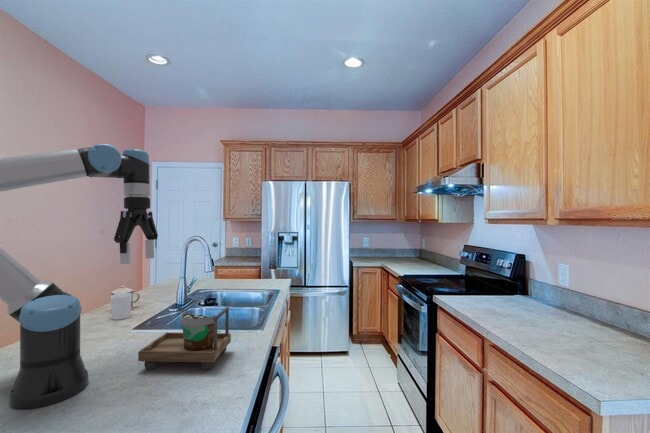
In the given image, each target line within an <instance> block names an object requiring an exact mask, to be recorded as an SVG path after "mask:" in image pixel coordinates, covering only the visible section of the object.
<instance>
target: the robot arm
mask: <svg viewBox="0 0 650 433" xmlns="http://www.w3.org/2000/svg"><path fill="white" fill-rule="evenodd" d="M150 166H151V164H150V157H149V153H148V152H147V151H145V150H143V149H138V148H127V149H123V151H122V154H121V152H120V151H119V150H118V149H117V147H115V146H113V145H111V144H108V143H99V144H95V145H93V146H91V147H83V148H77V149H76V148H75V149H74V148H73V149H67V150H61V151H60V150H59V151H50V152H43V153H42V152H41V153H34V154H27V155H19V156H12V157H2V158H0V192H1V193H2V192H5V191H11V190H17V189H23V188H29V187H34V186H39V185H44V184H45V185H46V184H50V183H56V182H62V181H67V180H74V179H81V178H86V177H88V178H109V179H110V178H111V179H113V178H115V179H123V195H124V196H125V197H124V198H123V208H124V209H125V210H121V211H120V214H119V215H120V216H119V221H118V223H117V228H116V232H115V234H114V237H113V240H114V242H115V243H116V244H119V257H120V259H119V263H120V265H128V264H129V265H130V264H131V261H132V259H131V242H129V241H130V238H132V235H133V232H134V230H135V228H136V227H137V226H139V227H140V229H141V231H142V232H143V234H144V237H145V238H146V239H145V240H144V241H145V242H144V246H145V248H144V249H145V259H155V240H158V236H159V234H158V231H157V228H156V225H155V221H154V218H153V212H152V211H147V210H149V209H150V208H151V198H150V196H151V185H150V183H151V182H150V178H151V177H150V176H151V175H150V172H151V171H150V169H151V167H150ZM0 300H1V301H2V302H3V303H5V304H6V305H7V311H6V313H7V315H9V316H10V317H11V318H13V319H14V320H15V321H17V322H18V323H19V330H20V332H19V333H20V334H19V370H18V373H17V375H16V378H15V380H14V383H13V387H12V389H11V391H10V393H9V405H10V406H11V408H14V409H21V410H26V409H28V410H29V409H35V408H40V407H41V408H42V407H46V406H50V405H53V404H56V403H59V402H62V401H64V400H66V399H68V398H71V397H73V396H74V395H77V394H78V393H80V392H81V391H82V390H84V389H85V388H86V387H87V386H88V385H89V372H88V370H87V369H86V367H85V366H86V365H85V364H84V361H83V359H82V356H81V313H82V306H81V302H80V299H79V298H78V297H77V296H73V295H72V294H70V293H68V292H67V291H63V290H62V289H61V288H60V287H59V286H57V285H56V284H55V283H54V282H53V281H47V280H46V281H42V280H41V279H39V278H38V277H36V276H35V275H34V274H33V273H32V272H31V271H29V270H28V269H27V268H26V267H25V266H24V265H22V264H21V263H20V262H19V261H18V260H16V259H15V258H14V257H13V256H11V254H9V253H8V252H7V251H5V249H4V248H2V247H1V246H0Z"/></svg>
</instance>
